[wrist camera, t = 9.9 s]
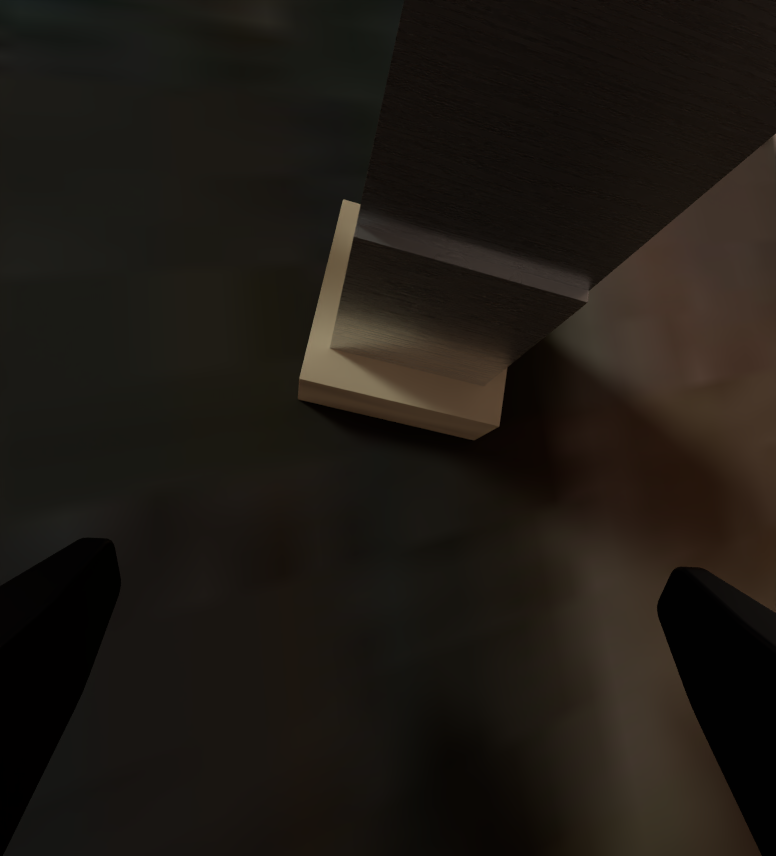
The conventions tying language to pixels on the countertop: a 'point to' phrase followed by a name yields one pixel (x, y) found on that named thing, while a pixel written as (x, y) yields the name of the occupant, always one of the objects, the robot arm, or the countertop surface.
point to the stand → (387, 369)
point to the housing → (539, 163)
